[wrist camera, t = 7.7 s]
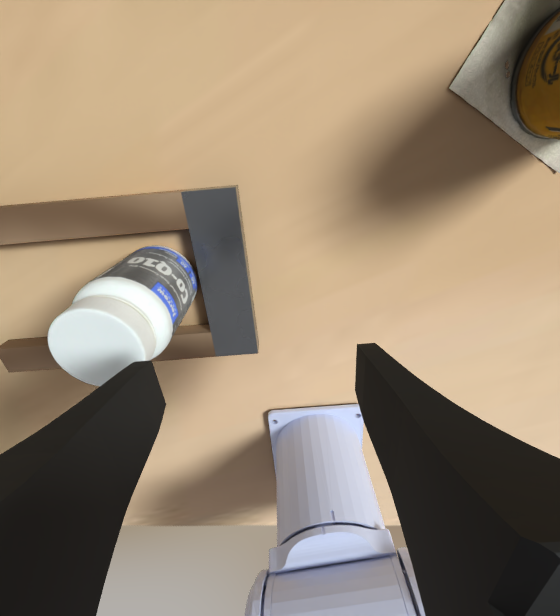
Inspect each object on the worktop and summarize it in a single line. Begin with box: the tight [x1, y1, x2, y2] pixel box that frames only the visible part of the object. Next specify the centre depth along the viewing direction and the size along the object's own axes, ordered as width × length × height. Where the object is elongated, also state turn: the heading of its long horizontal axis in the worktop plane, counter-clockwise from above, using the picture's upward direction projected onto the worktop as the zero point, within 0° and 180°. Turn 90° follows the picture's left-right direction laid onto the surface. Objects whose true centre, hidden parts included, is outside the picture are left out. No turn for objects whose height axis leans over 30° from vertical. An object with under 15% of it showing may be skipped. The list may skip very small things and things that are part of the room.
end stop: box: [181, 185, 259, 356], centre depth 19 cm, size 11×3×1 cm, turn 5°
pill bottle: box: [48, 245, 198, 386], centre depth 16 cm, size 5×5×8 cm
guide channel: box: [0, 190, 216, 372], centre depth 20 cm, size 11×15×1 cm
